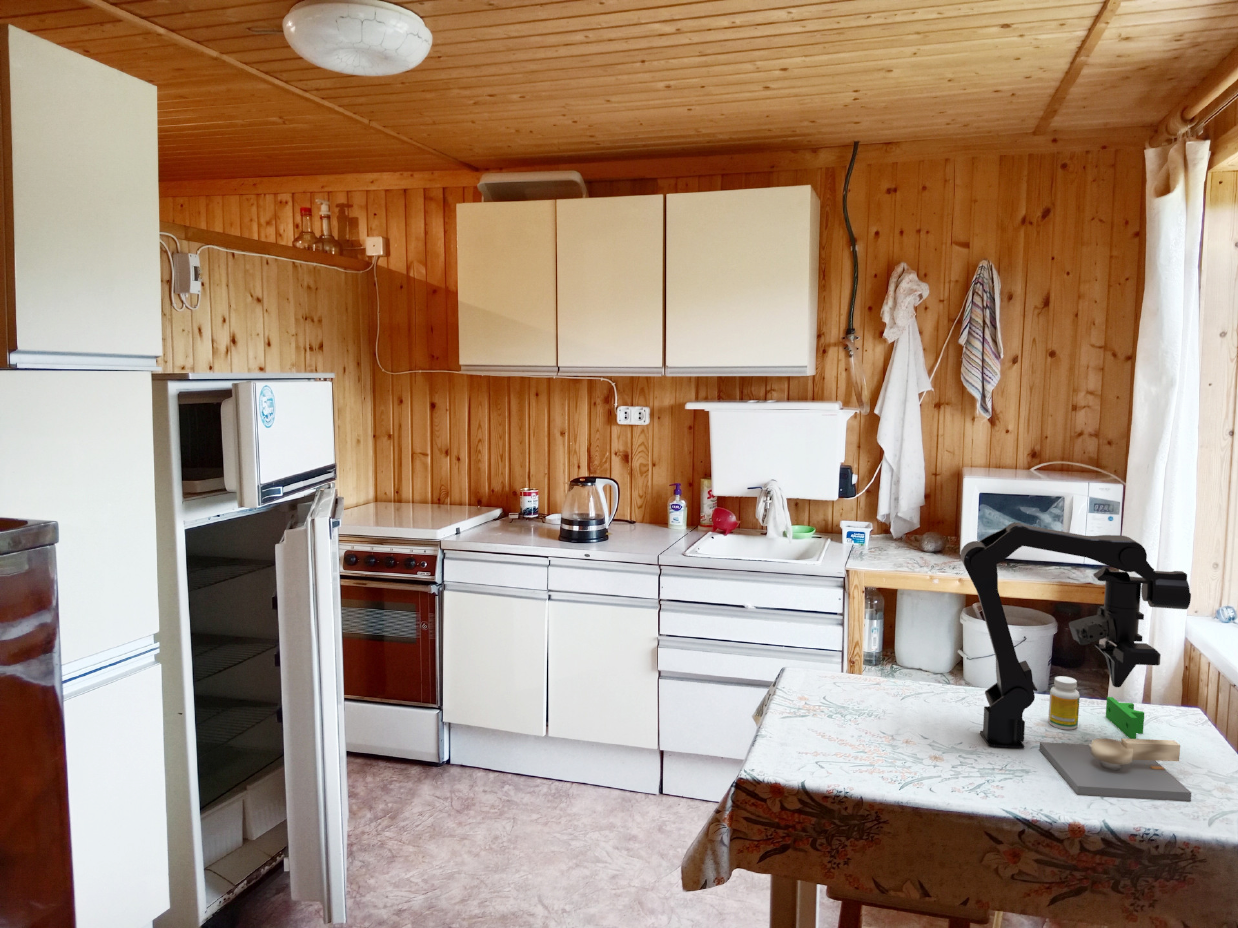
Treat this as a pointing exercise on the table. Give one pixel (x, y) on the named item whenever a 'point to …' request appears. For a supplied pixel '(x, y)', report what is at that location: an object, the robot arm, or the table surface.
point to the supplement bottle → (1064, 703)
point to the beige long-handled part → (1134, 750)
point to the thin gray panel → (1112, 774)
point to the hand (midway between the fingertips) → (1116, 686)
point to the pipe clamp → (1125, 717)
